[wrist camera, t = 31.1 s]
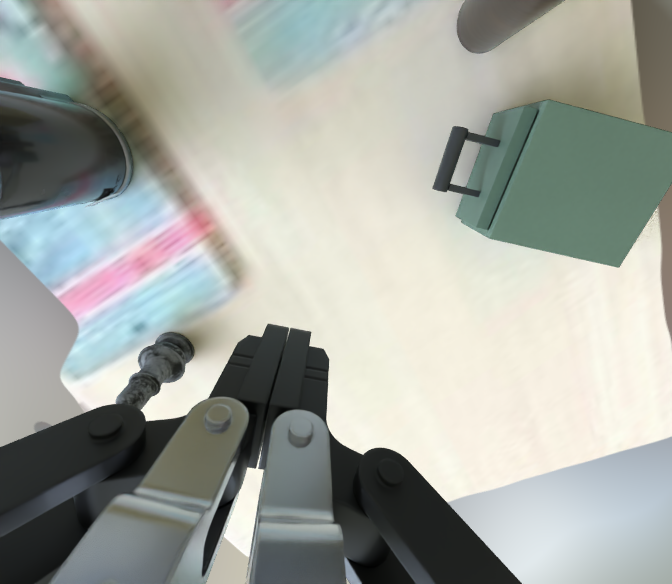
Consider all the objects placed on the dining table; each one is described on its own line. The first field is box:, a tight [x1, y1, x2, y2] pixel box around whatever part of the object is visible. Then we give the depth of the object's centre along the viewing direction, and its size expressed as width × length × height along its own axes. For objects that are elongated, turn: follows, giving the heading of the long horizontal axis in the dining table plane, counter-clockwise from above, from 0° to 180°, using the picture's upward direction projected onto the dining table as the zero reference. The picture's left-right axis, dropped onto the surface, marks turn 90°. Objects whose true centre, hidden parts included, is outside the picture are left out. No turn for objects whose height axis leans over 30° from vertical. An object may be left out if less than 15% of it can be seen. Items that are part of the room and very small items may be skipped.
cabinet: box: [461, 100, 672, 267], centre depth 31 cm, size 13×11×7 cm
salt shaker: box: [116, 333, 194, 410], centre depth 38 cm, size 6×6×12 cm
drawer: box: [433, 106, 538, 230], centre depth 30 cm, size 17×10×6 cm, turn 78°
